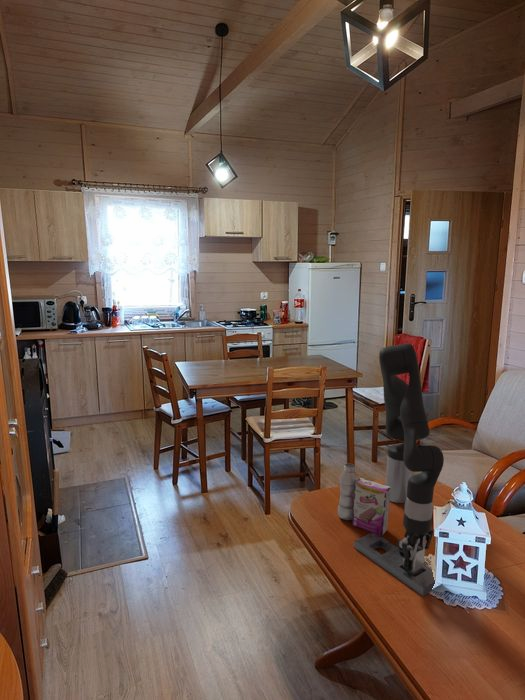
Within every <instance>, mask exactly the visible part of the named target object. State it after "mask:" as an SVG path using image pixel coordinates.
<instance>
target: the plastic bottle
mask: <svg viewBox="0 0 525 700" xmlns="http://www.w3.org/2000/svg"><path fill="white" fill-rule="evenodd" d="M343 466H344V467H343V472H342V473H341V474H340V475H339V480H338V481H339V503H338V506H337V515H338V517H339V518H341V520H344V521H352V518H353V505H354V492H355V483H356V481H358V480H359V477H358V476H357V474H356V473H355V472H356V465H355V464H353V463H345V464H344V465H343Z"/></svg>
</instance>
